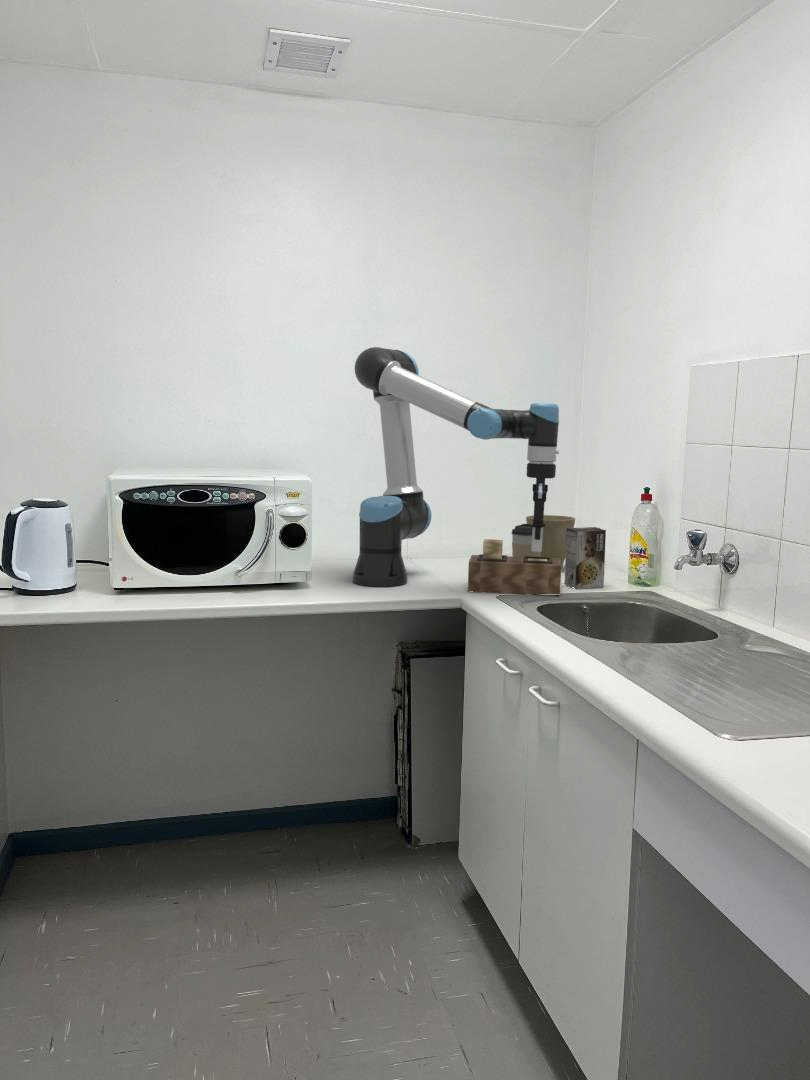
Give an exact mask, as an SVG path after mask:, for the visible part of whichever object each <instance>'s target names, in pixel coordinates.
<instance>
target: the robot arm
mask: <svg viewBox="0 0 810 1080" xmlns="http://www.w3.org/2000/svg"><path fill="white" fill-rule="evenodd" d="M354 375H355V378H356V379H357V381H358V382H359V383H360V385H362V386H363V388H366V389H368V390H371V391H372V393H373V401H375V402H376V403H377V404H378V405H379V410H380V422H381V432H382V434H381V435H382V442H383V452H384V453H383V454H384V465H385V475H386V484H387V485H386V490H384V492H383V493H382V495H378V496H372V497H368V498H365V499H363V500H362V501H361V503H360V506H359V513H358V515H359V516H358V517H359V553H358V558H357V560H356V563H355V566H354V569H353V573H352V582H353V583H354V584H357V585H360V586H365V587H366V586H367V587H381V588H383V587H384V588H385V587H395V586H396V587H397V586H401V585H405V584H407V583H408V572H407V569H406V566H405V562H404V558H403V556H402V546H403V545H402V543H403V542H402V541H403V540H406V539H414V538H417V537H418V536H420V535H422V534H424V533H425V532H426V531H427V530H428V529H429V526H430V525H431V522H432V510H431V507H430V505H429V503H427V502H426V500H425V499H424V491H423V489H422V488H421V487H419V486H418V483H417V471H416V459H415V450H414V449H415V447H414V438H413V427H412V417H411V407H410V406H411V405H413V406H415V407H417V408H420V409H421V410H424V411H426V412H428V413H431V414H432V415H435V416H437V417H439V418H442V419H443V420H445V421H447V422H449V423H451V424H454V425H456V426H458V427H461V428H463V429H464V430H466V431H468V432H470V434H471V435H472V436H473V437H475V438H477V439H481V440H485V441H486V440H491V439H493V440H494V439H495V440H496V439H517V440H518V439H521V440H528V443H527V456H526V460H527V461H528V463H527V464H526V477H527V478H531V479H535V480H536V481H535V483H533V484H532V500H533V502H534V503H533V504H534V505H533V515H534V519H533V525H531V527H533V530H532V548H531V551H534V552H542V537H543V526H544V527H545V524H544V523H543V517H544V515H545V503H546V501H547V495H548V494H547V493H548V491H549V485H548V484H546V479H549V480H550V479H554V478H556V470H557V469H556V468H557V465H556V464H555V462H557V455H559V454H560V450H558V449H557V448H558V435H559V425H560V420H559V419H560V413H559V412H560V409H559V406H558V404H557V403H552V402H551V403H549V402H548V403H545V402H533V403H530V407H529V409H527V410H520V409H503V408H491V407H489V406H487V405H484V404H483V403H480V402H478V401H475V400H474V399H472V398H469V397H468V396H465V395H462V394H461V393H458V392H456V391H454V390H452V389H449V388H447V387H445V386H443V385H441V384H439V383H436V382H435V381H432V380H430V379H428V378H425V377H423V376H422V375H420V373H419V367H418V364H417V361H416V360H415V359H414V357H412V356H411V354H408V353H407V352H405V351H402V350H400V349H393V348H391V349H390V348H385V347H384V348H383V347H380V346H379V347H377V346H374V347H369V348H366V349H364V350H363V351H361V353H360V354H359V355H358V356H357V358H356V360H355V363H354ZM410 404H411V405H410Z"/></svg>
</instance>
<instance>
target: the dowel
mask: <svg viewBox="0 0 810 1080" xmlns="http://www.w3.org/2000/svg"><path fill="white" fill-rule="evenodd" d="M503 542H504V540H503V539H491V538H490V539H487V538H486V539H485V538H484V539H483V543H482V554H483V559H502V555H503V546H504V545H503V544H504V543H503Z"/></svg>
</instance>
